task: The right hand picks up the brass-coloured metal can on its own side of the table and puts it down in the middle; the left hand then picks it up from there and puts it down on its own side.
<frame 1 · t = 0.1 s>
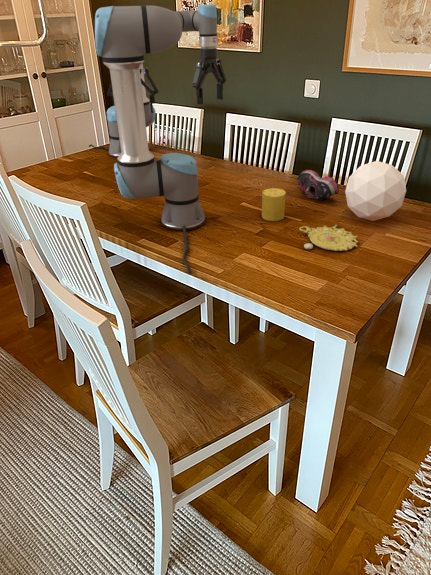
left hand: (210, 101, 197), 28 cm above the table, tool pointing down, fingers open, 13 cm apart
right hand: (135, 113, 181), 28 cm above the table, tool pointing down, fingers open, 13 cm apart
athletic shoe: (311, 196, 174), on the table
decorative object: (328, 239, 142), on the table
sphere: (370, 217, 155), on the table
can: (272, 216, 158), on the table
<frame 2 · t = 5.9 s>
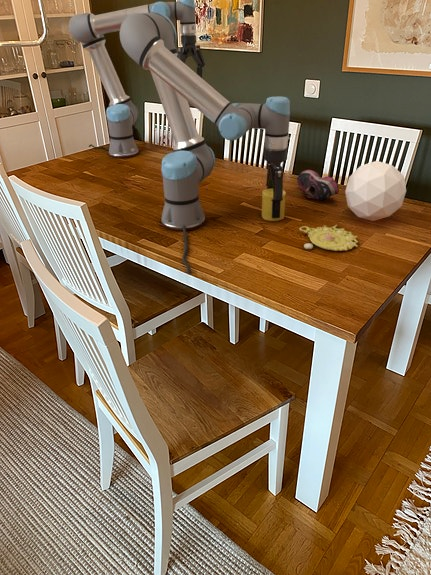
left hand: (190, 83, 223), 32 cm above the table, tool pointing down, fingers open, 13 cm apart
right hand: (273, 212, 157), 1 cm above the table, tool pointing down, fingers closed on can, 8 cm apart
can: (272, 216, 158), on the table, touching right hand
everything else where it was.
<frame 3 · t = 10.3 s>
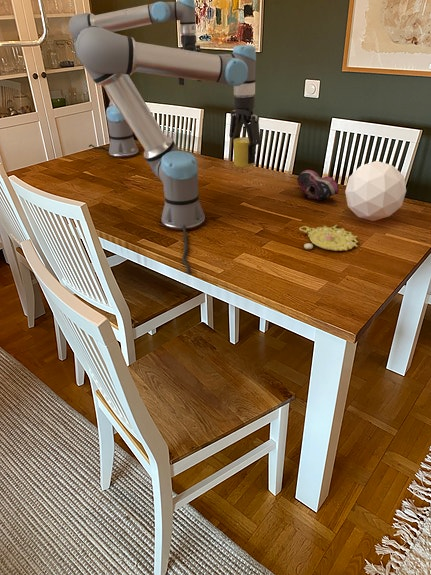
left hand: (190, 83, 223), 32 cm above the table, tool pointing down, fingers open, 13 cm apart
right hand: (244, 160, 167), 15 cm above the table, tool pointing down, fingers closed on can, 8 cm apart
can: (244, 164, 168), point 13 cm above the table, touching right hand
everything else where it was.
when the right hand's fingers open (3 cm above the table, at t = 15.2 s): can drops 2 cm, on the table.
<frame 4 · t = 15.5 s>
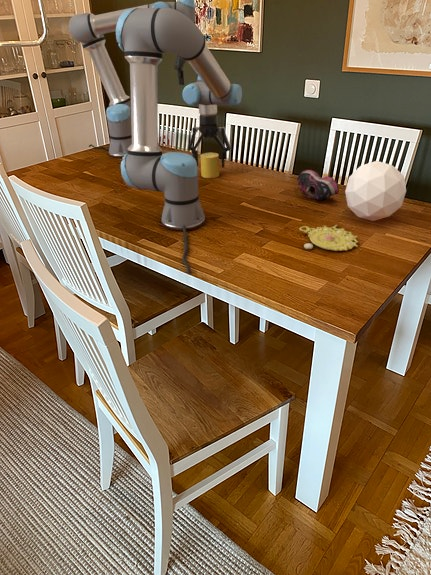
left hand: (190, 83, 223), 32 cm above the table, tool pointing down, fingers open, 13 cm apart
right hand: (209, 166, 196), 4 cm above the table, tool pointing down, fingers open, 11 cm apart
can: (210, 175, 198), on the table
everything else where it was.
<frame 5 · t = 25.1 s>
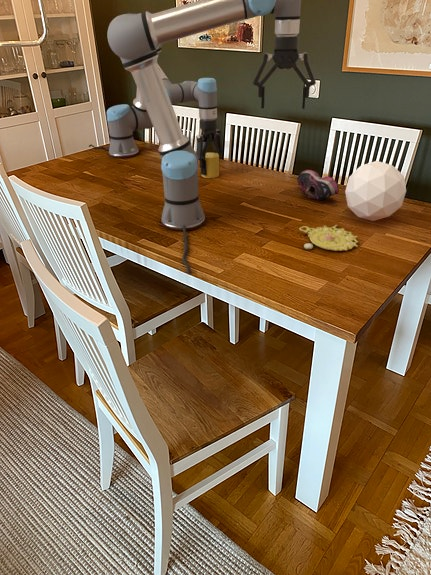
left hand: (210, 172, 198), 1 cm above the table, tool pointing down, fingers closed on can, 8 cm apart
right hand: (282, 107, 149), 34 cm above the table, tool pointing down, fingers open, 13 cm apart
can: (210, 175, 198), on the table, touching left hand
everything else where it was.
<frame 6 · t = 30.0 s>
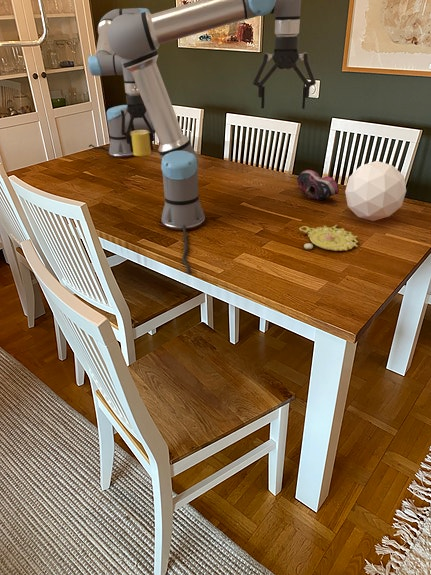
left hand: (141, 150, 192), 12 cm above the table, tool pointing down, fingers closed on can, 8 cm apart
right hand: (282, 107, 149), 34 cm above the table, tool pointing down, fingers open, 13 cm apart
can: (142, 153, 193), point 11 cm above the table, touching left hand
everything else where it was.
when the left hand's fingers open (3 cm above the table, at t = 35.2 s): can drops 2 cm, on the table.
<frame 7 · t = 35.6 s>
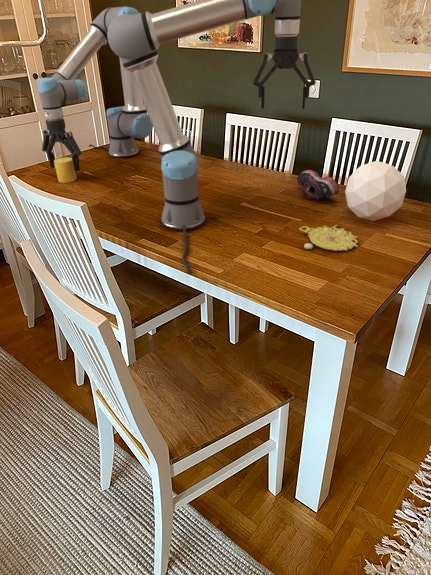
left hand: (65, 169, 196), 5 cm above the table, tool pointing down, fingers open, 13 cm apart
right hand: (282, 107, 149), 34 cm above the table, tool pointing down, fingers open, 13 cm apart
can: (67, 179, 198), on the table
everything else where it was.
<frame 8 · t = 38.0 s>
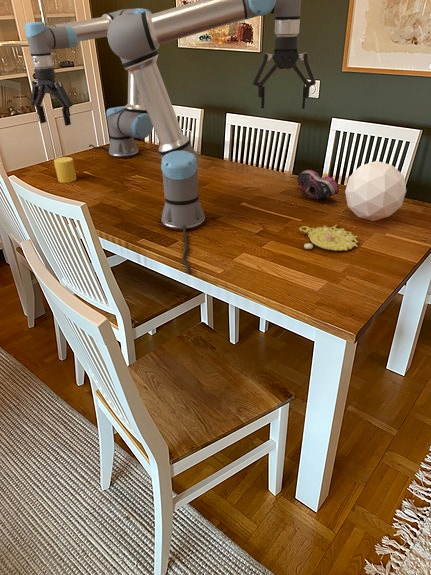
left hand: (55, 123, 185), 24 cm above the table, tool pointing down, fingers open, 13 cm apart
right hand: (282, 107, 149), 34 cm above the table, tool pointing down, fingers open, 13 cm apart
nothing on the table moved.
at the end: can inside the target area (0.0 cm from its centre), on the table; can tilted 0°; the two hands never held the can at the same time; the left hand is holding nothing; the right hand is holding nothing; can at rest at the end (0.0 cm/s) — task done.
